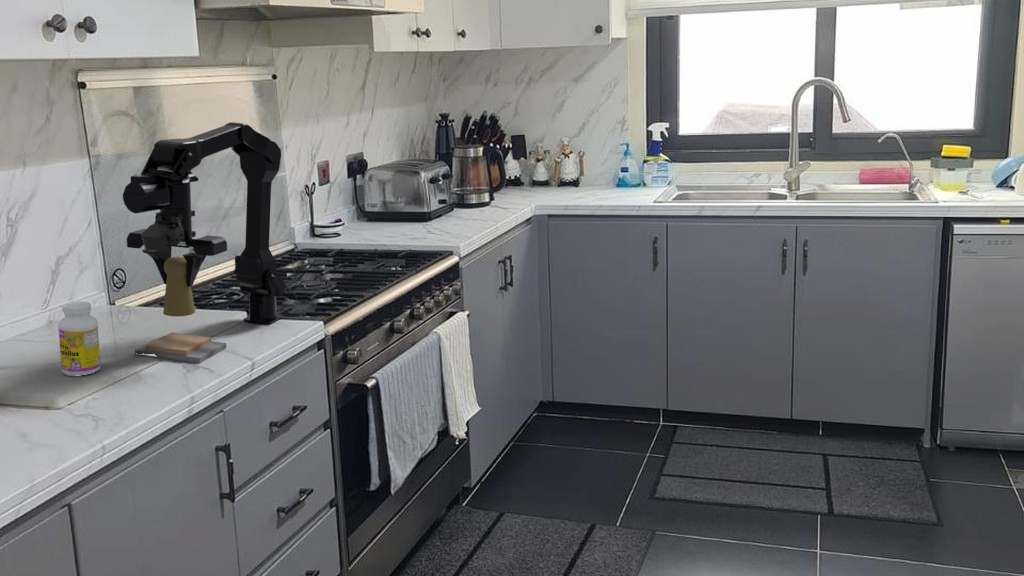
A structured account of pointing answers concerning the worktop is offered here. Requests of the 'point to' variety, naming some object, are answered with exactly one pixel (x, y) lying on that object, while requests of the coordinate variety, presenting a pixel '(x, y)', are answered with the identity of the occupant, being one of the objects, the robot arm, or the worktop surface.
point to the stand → (182, 347)
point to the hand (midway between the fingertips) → (178, 285)
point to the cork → (177, 288)
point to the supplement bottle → (79, 340)
